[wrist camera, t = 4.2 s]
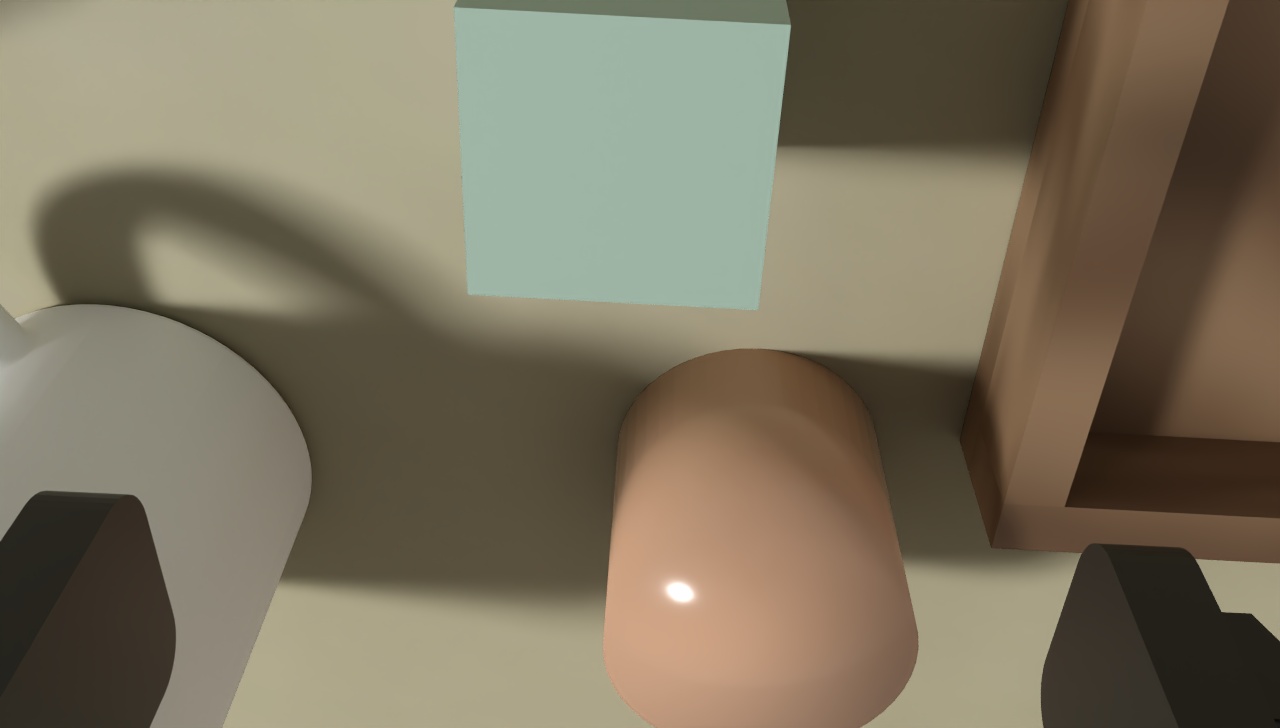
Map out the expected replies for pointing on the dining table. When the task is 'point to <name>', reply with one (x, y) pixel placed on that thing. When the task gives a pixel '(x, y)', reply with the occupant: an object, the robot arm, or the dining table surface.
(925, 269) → the dining table surface
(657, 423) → the peach capsule shape
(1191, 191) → the tray
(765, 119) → the sage block
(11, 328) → the mug
